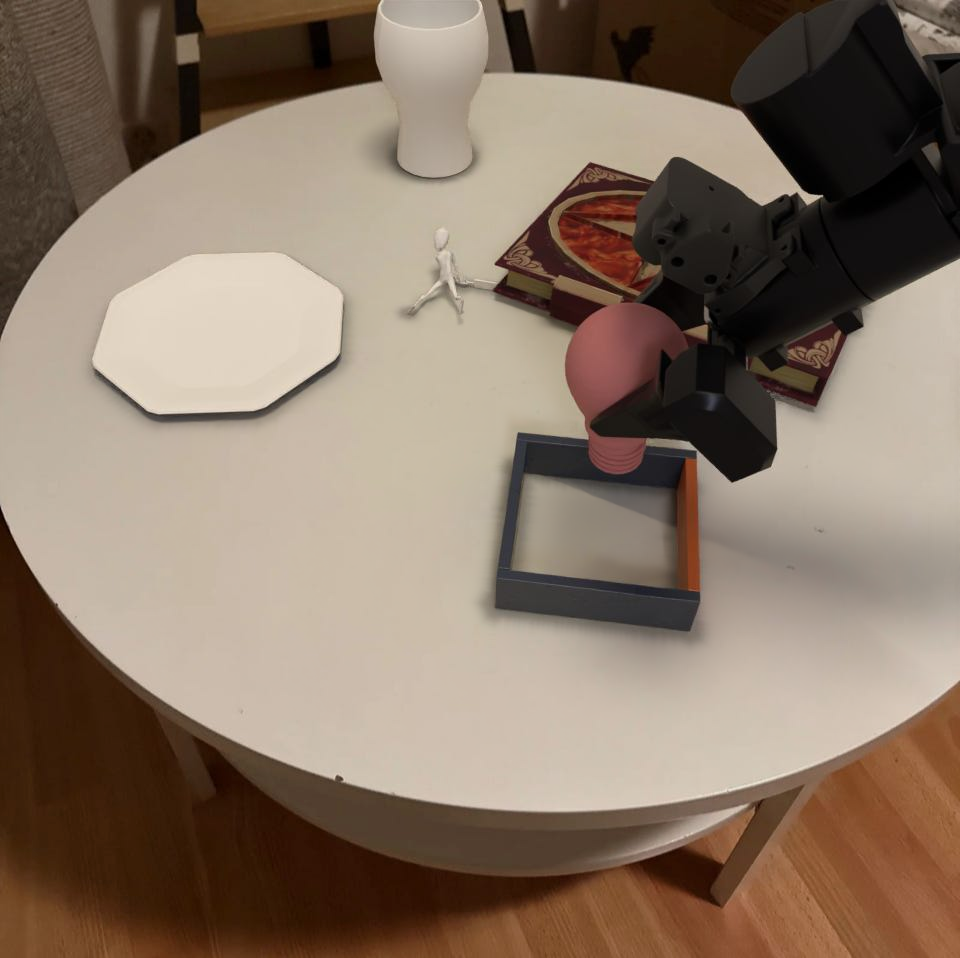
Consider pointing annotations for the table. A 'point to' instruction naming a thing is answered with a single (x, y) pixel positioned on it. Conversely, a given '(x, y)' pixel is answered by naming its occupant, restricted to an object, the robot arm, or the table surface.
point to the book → (627, 273)
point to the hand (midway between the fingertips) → (600, 385)
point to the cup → (432, 78)
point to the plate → (220, 334)
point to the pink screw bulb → (617, 371)
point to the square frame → (597, 595)
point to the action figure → (445, 266)
